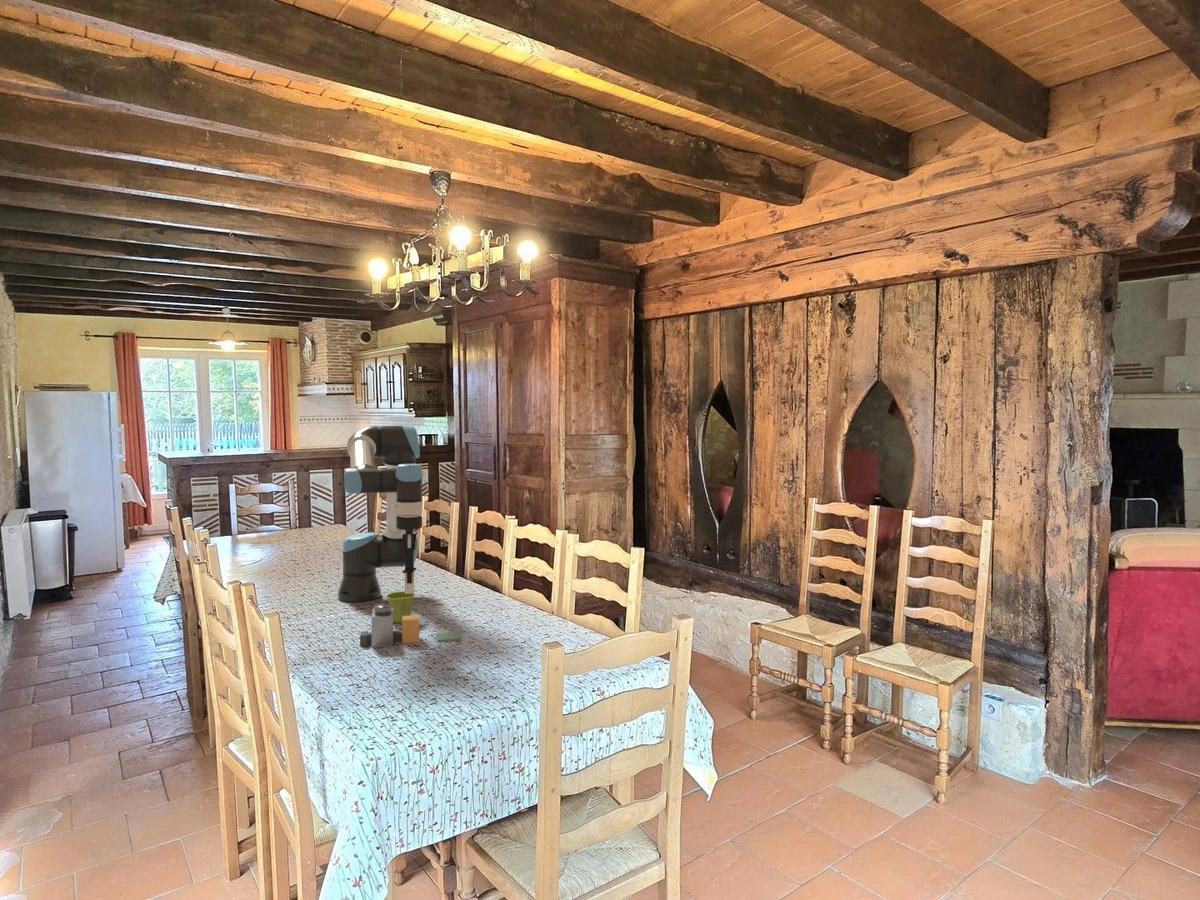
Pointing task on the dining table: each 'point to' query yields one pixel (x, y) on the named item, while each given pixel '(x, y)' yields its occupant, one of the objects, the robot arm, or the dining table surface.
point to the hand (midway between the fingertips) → (409, 592)
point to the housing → (382, 625)
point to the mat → (448, 636)
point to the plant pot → (400, 604)
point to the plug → (399, 632)
